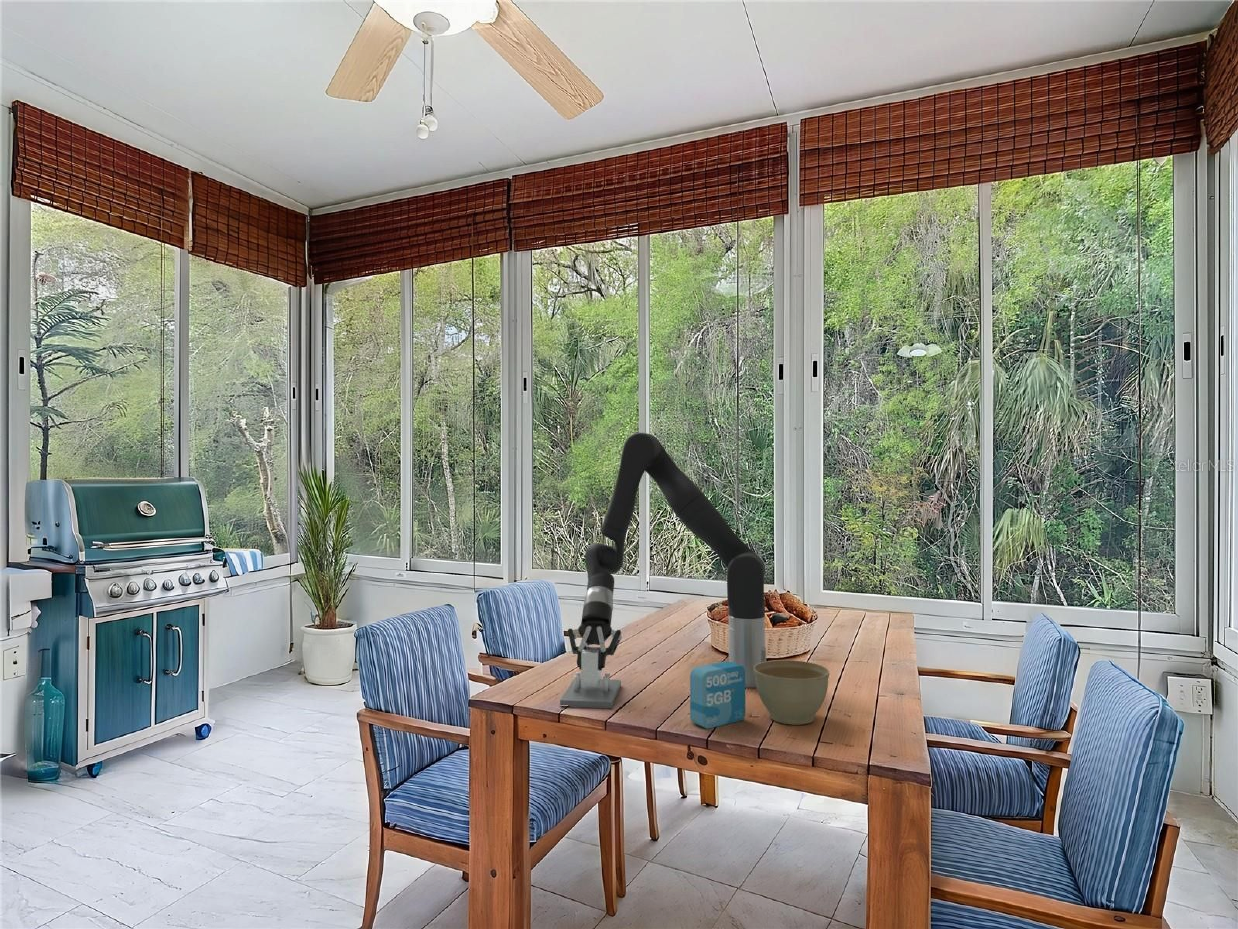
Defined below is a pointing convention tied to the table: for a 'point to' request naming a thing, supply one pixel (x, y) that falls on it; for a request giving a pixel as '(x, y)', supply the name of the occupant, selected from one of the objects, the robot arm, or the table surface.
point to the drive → (590, 667)
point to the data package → (717, 694)
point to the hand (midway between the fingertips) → (590, 668)
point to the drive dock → (591, 693)
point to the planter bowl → (791, 689)
